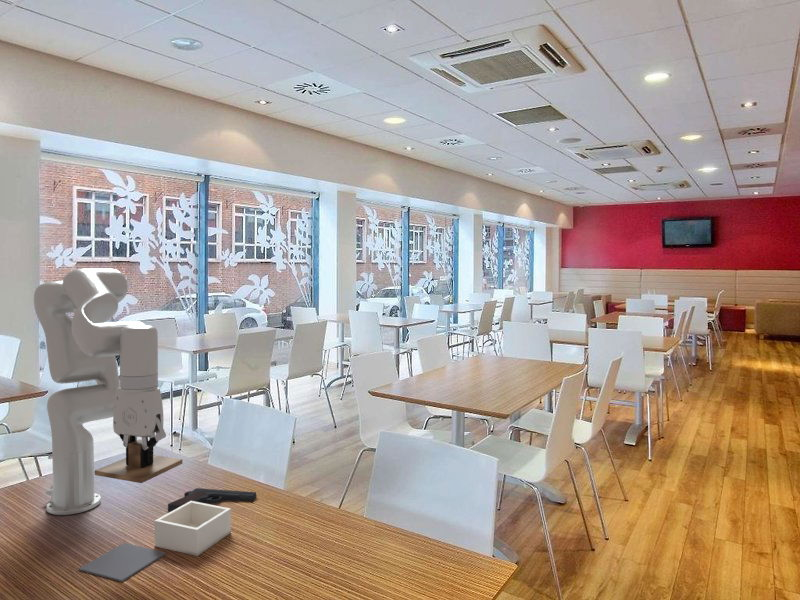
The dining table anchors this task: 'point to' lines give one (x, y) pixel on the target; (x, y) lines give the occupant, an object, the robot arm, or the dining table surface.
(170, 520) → the box
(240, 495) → the handgun
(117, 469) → the lid
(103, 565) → the mat
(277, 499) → the dining table surface
